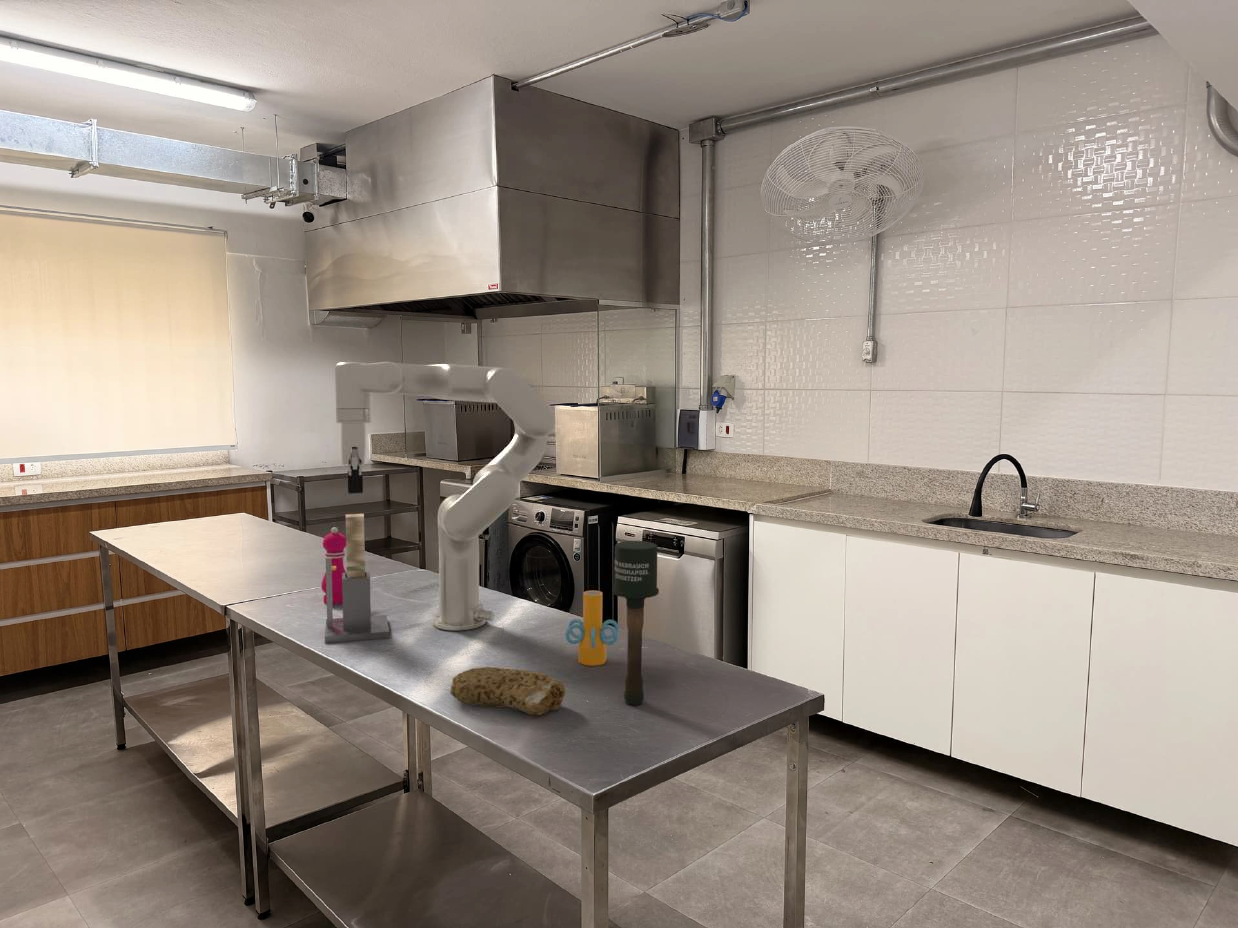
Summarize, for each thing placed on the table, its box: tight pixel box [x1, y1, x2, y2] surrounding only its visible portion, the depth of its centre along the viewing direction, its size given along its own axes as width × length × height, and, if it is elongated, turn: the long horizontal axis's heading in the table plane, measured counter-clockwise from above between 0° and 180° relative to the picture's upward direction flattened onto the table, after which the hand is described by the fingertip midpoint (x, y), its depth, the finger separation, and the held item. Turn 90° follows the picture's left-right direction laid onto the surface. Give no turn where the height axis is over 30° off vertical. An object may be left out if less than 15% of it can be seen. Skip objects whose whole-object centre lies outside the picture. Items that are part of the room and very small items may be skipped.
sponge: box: [449, 666, 566, 716], centre depth 152 cm, size 13×8×20 cm
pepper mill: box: [320, 526, 347, 605], centre depth 219 cm, size 7×7×20 cm
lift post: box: [345, 513, 366, 578], centre depth 193 cm, size 4×4×20 cm
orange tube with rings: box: [565, 590, 619, 667], centre depth 175 cm, size 12×10×15 cm
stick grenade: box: [611, 540, 660, 706], centre depth 153 cm, size 8×9×30 cm
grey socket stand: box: [324, 557, 390, 644], centre depth 194 cm, size 14×14×18 cm
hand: (355, 490), depth 191 cm, fingers open, 9 cm apart
